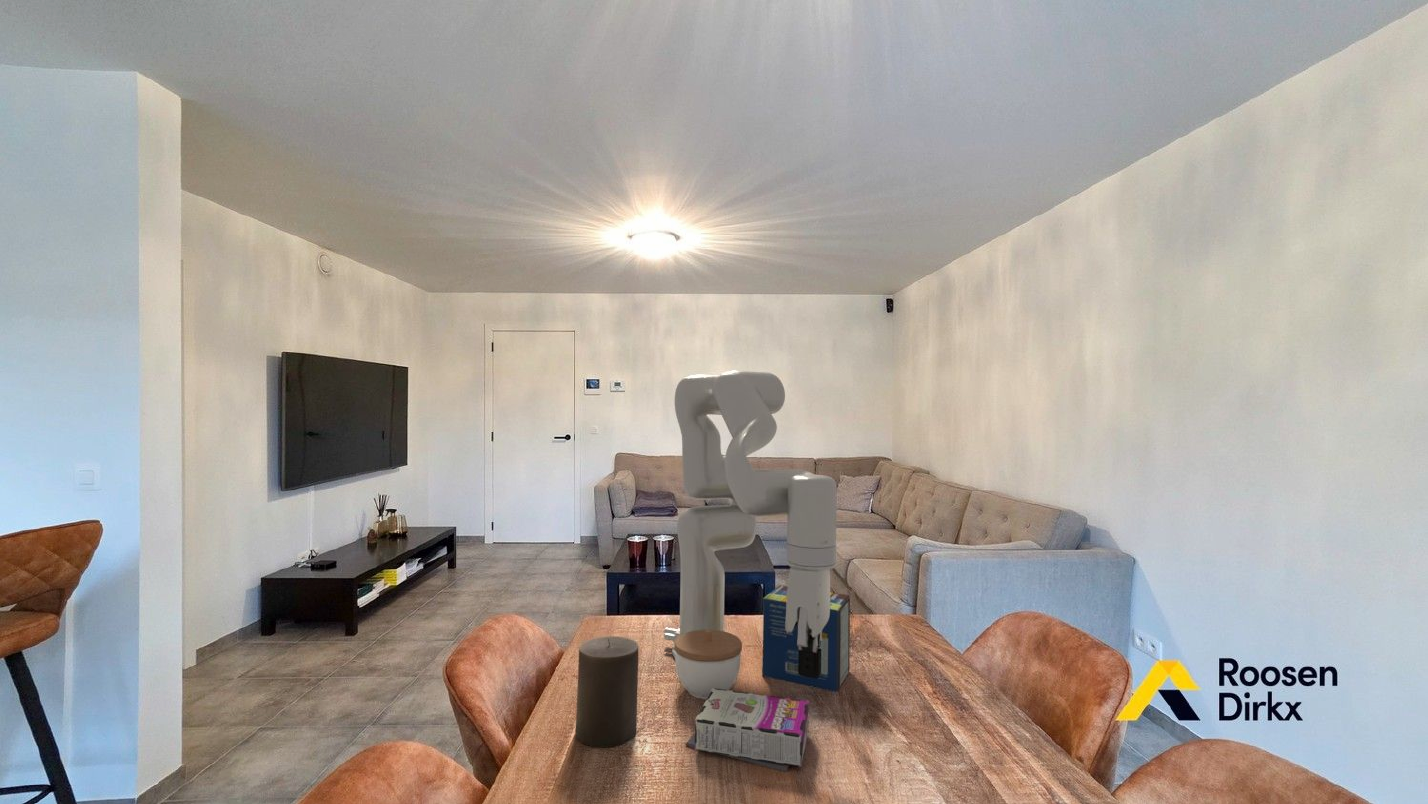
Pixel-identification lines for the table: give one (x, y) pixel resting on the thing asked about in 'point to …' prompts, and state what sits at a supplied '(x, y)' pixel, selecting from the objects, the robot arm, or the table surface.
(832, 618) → the protein box
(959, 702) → the table surface
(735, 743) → the candy bar box
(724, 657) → the lidded bowl
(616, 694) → the pillar candle
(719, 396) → the robot arm
